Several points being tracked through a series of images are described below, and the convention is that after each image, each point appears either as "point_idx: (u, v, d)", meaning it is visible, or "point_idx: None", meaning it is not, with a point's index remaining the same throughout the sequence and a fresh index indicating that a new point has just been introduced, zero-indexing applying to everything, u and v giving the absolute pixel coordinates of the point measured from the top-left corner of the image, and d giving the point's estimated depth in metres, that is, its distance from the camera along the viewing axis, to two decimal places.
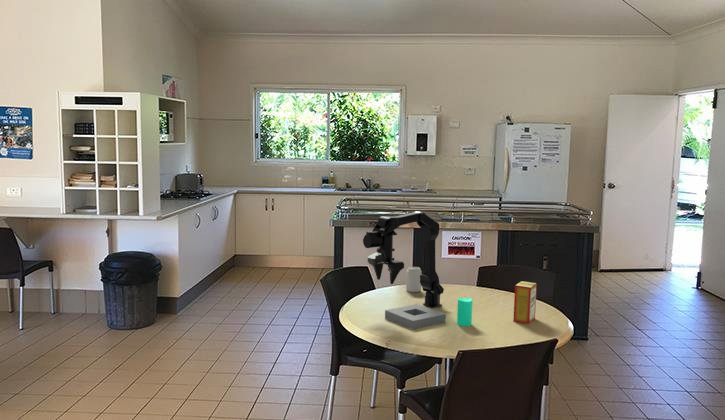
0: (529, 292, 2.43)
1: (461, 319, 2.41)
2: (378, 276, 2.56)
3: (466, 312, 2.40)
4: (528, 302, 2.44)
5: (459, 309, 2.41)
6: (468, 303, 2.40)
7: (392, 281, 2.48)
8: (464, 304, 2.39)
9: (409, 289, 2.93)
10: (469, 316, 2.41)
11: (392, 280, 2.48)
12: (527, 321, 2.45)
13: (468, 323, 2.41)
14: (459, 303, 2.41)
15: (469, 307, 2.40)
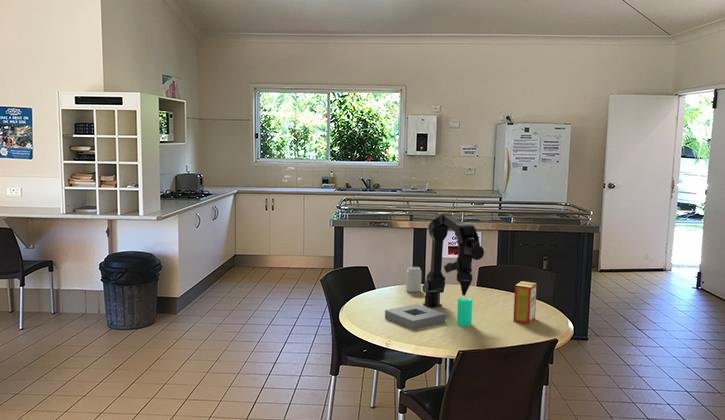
0: (529, 292, 2.43)
1: (461, 319, 2.41)
2: None
3: (466, 312, 2.40)
4: (528, 302, 2.44)
5: (459, 309, 2.41)
6: (468, 303, 2.40)
7: (463, 292, 2.37)
8: (464, 304, 2.39)
9: (409, 289, 2.93)
10: (469, 316, 2.41)
11: (463, 291, 2.37)
12: (527, 321, 2.45)
13: (468, 323, 2.41)
14: (459, 303, 2.41)
15: (469, 307, 2.40)
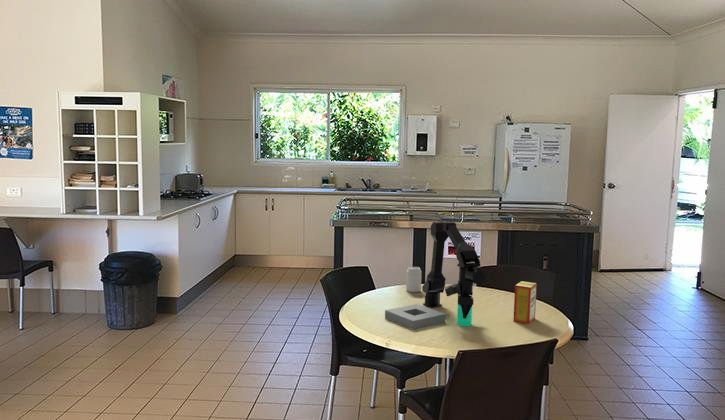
0: (529, 292, 2.43)
1: (461, 319, 2.41)
2: None
3: None
4: (528, 302, 2.44)
5: (459, 309, 2.41)
6: None
7: (464, 315, 2.39)
8: None
9: (409, 289, 2.93)
10: (469, 316, 2.40)
11: (464, 314, 2.39)
12: (527, 321, 2.45)
13: (468, 323, 2.41)
14: None
15: None
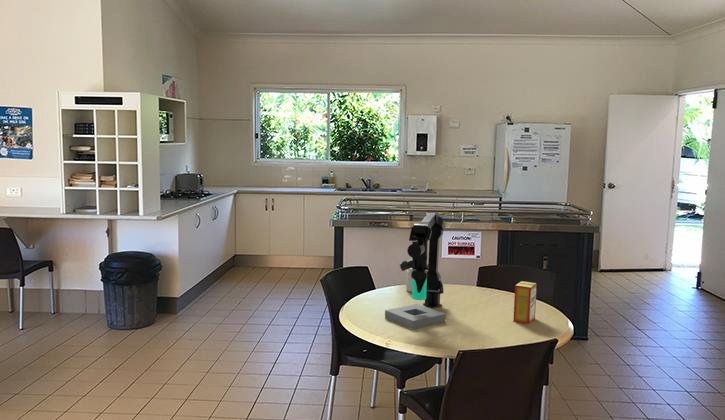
0: (529, 292, 2.43)
1: (418, 294, 2.43)
2: None
3: (423, 286, 2.42)
4: (528, 302, 2.44)
5: None
6: None
7: (418, 289, 2.41)
8: None
9: (409, 289, 2.93)
10: (425, 290, 2.44)
11: (418, 288, 2.41)
12: (527, 321, 2.45)
13: (424, 297, 2.44)
14: None
15: (425, 281, 2.43)
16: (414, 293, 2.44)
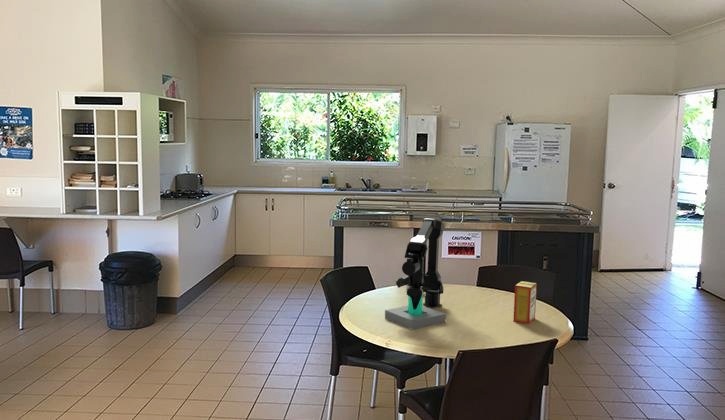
0: (529, 292, 2.43)
1: (414, 311, 2.44)
2: None
3: None
4: (528, 302, 2.44)
5: (411, 301, 2.44)
6: None
7: (414, 306, 2.43)
8: None
9: None
10: (421, 307, 2.45)
11: (414, 305, 2.42)
12: (527, 321, 2.45)
13: (420, 313, 2.45)
14: None
15: (421, 298, 2.44)
16: (410, 310, 2.45)
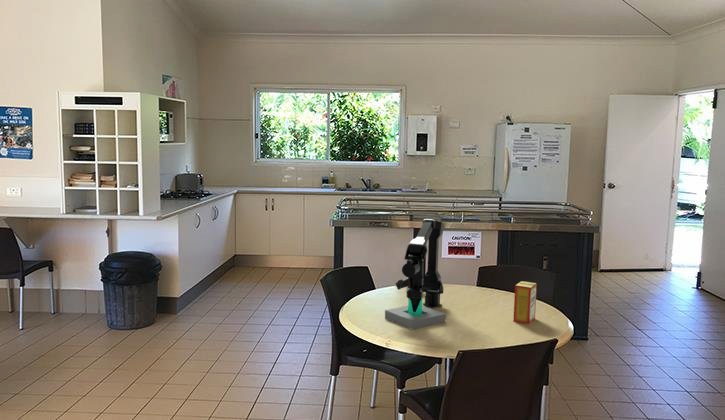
0: (529, 292, 2.43)
1: None
2: None
3: (411, 307, 2.45)
4: (528, 302, 2.44)
5: (408, 303, 2.47)
6: None
7: (414, 309, 2.42)
8: None
9: None
10: None
11: (413, 308, 2.41)
12: (527, 321, 2.45)
13: None
14: (408, 298, 2.48)
15: None
16: None
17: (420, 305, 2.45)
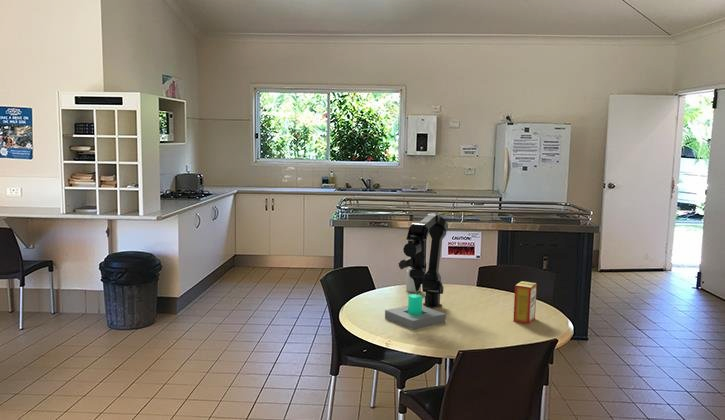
0: (529, 292, 2.43)
1: None
2: None
3: (411, 308, 2.45)
4: (528, 302, 2.44)
5: (408, 304, 2.47)
6: (414, 299, 2.44)
7: (416, 288, 2.46)
8: (410, 299, 2.45)
9: (409, 289, 2.93)
10: (415, 312, 2.44)
11: (416, 287, 2.46)
12: (527, 321, 2.45)
13: None
14: (408, 298, 2.47)
15: (415, 303, 2.44)
16: None
17: (420, 306, 2.45)
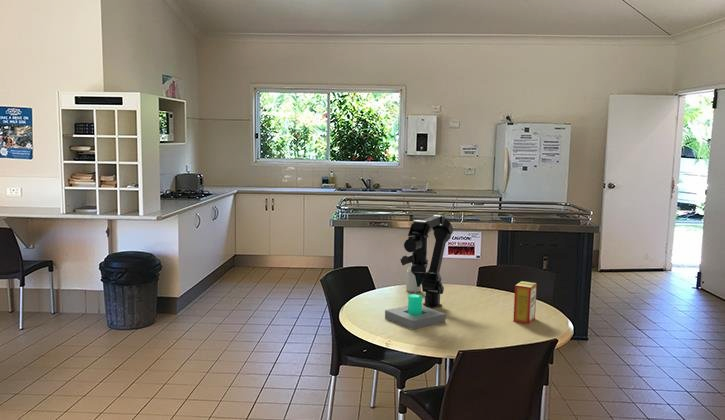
0: (529, 292, 2.43)
1: None
2: None
3: (411, 308, 2.45)
4: (528, 302, 2.44)
5: (408, 304, 2.47)
6: (413, 299, 2.44)
7: (418, 284, 2.51)
8: (410, 299, 2.45)
9: (409, 289, 2.93)
10: (415, 312, 2.44)
11: (417, 283, 2.51)
12: (527, 321, 2.45)
13: None
14: (408, 298, 2.47)
15: (415, 303, 2.44)
16: None
17: (420, 306, 2.45)
